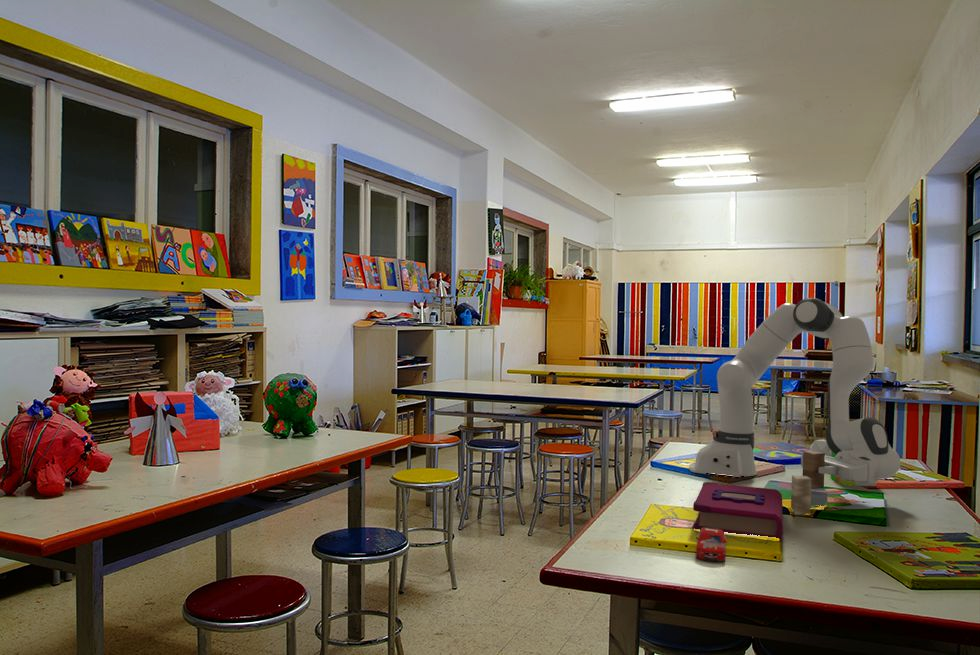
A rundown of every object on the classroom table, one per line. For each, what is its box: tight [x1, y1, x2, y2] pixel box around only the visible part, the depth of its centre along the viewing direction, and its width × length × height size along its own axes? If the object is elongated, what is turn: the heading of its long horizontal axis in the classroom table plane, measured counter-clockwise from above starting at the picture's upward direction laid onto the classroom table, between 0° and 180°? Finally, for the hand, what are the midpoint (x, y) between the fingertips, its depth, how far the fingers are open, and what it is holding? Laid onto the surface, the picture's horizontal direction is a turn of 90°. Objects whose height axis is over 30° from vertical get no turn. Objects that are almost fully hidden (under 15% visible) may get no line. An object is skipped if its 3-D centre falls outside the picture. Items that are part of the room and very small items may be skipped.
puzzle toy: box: [830, 452, 877, 487], centre depth 241 cm, size 10×10×10 cm
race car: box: [695, 527, 728, 563], centre depth 167 cm, size 16×7×5 cm, turn 161°
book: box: [692, 481, 784, 541], centre depth 191 cm, size 21×28×8 cm
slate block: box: [811, 490, 828, 506], centre depth 208 cm, size 7×7×4 cm
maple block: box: [790, 474, 812, 516], centre depth 201 cm, size 4×4×10 cm
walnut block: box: [802, 450, 825, 490], centre depth 208 cm, size 4×4×10 cm
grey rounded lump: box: [809, 439, 832, 457], centre depth 276 cm, size 8×9×10 cm
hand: (811, 468), depth 208 cm, fingers closed on walnut block, 4 cm apart
